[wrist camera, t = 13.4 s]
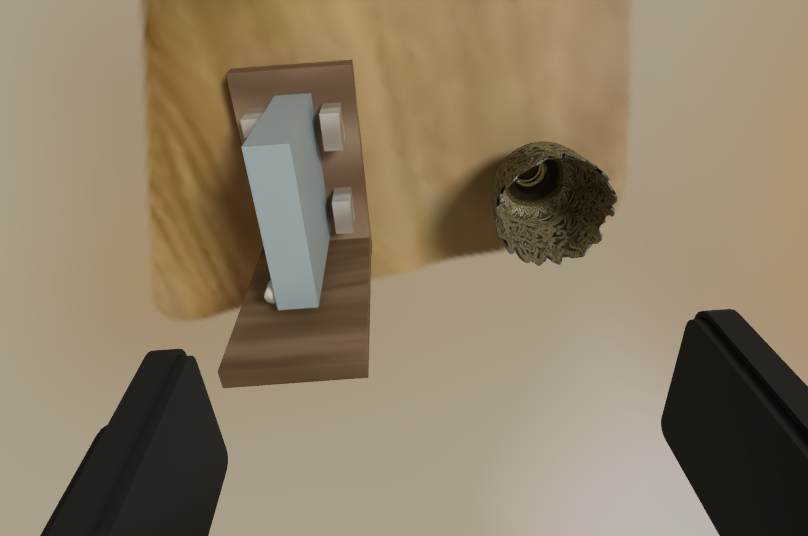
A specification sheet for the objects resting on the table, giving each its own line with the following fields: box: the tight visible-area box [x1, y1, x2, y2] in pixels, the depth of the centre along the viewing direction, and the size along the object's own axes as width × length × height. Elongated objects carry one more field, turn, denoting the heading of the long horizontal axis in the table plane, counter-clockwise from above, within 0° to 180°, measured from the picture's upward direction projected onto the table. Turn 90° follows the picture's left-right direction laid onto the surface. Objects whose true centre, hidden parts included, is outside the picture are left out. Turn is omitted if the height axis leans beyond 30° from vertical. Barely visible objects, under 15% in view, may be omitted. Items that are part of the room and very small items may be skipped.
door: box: [242, 93, 331, 310], centre depth 34 cm, size 10×3×10 cm, turn 4°
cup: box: [492, 142, 617, 266], centre depth 37 cm, size 8×7×8 cm
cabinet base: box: [218, 60, 372, 388], centre depth 33 cm, size 14×8×16 cm, turn 4°
